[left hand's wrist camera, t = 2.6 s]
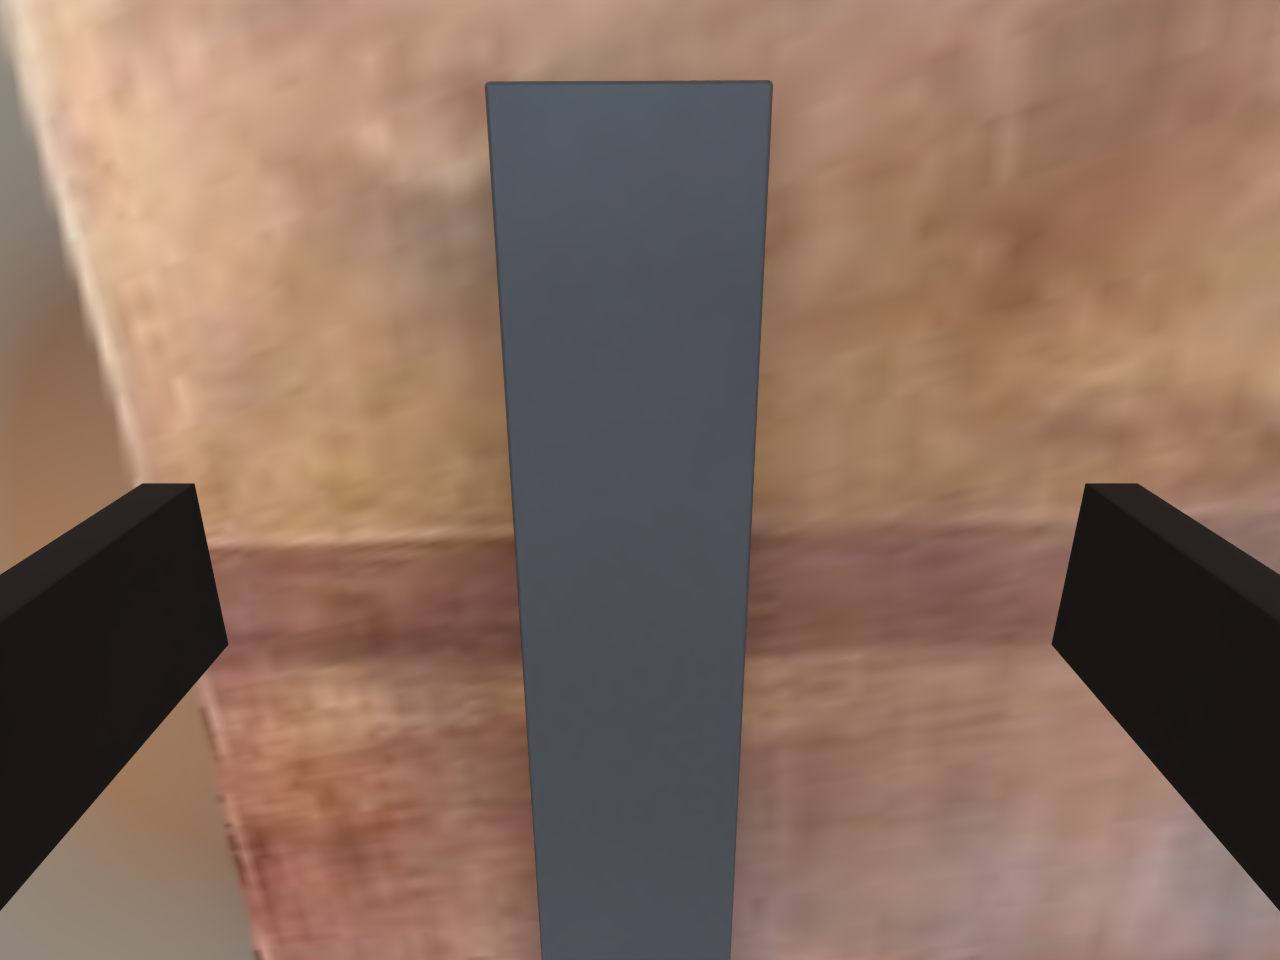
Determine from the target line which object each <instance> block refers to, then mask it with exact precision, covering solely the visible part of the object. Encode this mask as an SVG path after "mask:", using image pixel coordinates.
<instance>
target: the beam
mask: <svg viewBox="0 0 1280 960" xmlns="http://www.w3.org/2000/svg"><path fill="white" fill-rule="evenodd" d="M772 94H773V84H772V82H771V81H769V80H740V81H531V82H487V83H486V85H485V95H486V110H487V125H488V141H489V156H490V171H491V187H492V202H493V217H494V233H495V248H496V263H497V279H498V294H499V309H500V325H501V340H502V355H503V371H504V386H505V401H506V417H507V432H508V447H509V463H510V478H511V493H512V509H513V524H514V539H515V555H516V570H517V585H518V601H519V616H520V631H521V647H522V662H523V677H524V693H525V708H526V723H527V738H528V754H529V769H530V784H531V800H532V815H533V830H534V846H535V861H536V876H537V892H538V907H539V922H540V938H541V953H542V960H730V951H731V931H732V910H733V890H734V870H735V849H736V829H737V808H738V788H739V767H740V747H741V727H742V706H743V686H744V665H745V645H746V625H747V604H748V584H749V563H750V543H751V522H752V502H753V482H754V461H755V441H756V420H757V400H758V380H759V359H760V339H761V318H762V298H763V277H764V257H765V237H766V216H767V196H768V175H769V155H770V135H771V114H772Z"/></svg>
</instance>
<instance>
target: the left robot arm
mask: <svg viewBox="0 0 1280 960" xmlns="http://www.w3.org/2000/svg"><path fill="white" fill-rule="evenodd" d="M227 646H228V640H227V636H226V631H225V626H224V621H223V617H222V612H221V607H220V602H219V598H218V593H217V588H216V583H215V579H214V574H213V569H212V564H211V560H210V555H209V550H208V546H207V541H206V536H205V531H204V527H203V522H202V517H201V512H200V508H199V503H198V498H197V493H196V489H195V484H141V485H139V486H138V487H136V488H135V489H133V490H132V491H130V492H128V493H127V494H125V495H124V496H122V497H121V498H119V499H118V500H116V501H114V502H113V503H111V504H110V505H108V506H107V507H105V508H104V509H102V510H100V511H99V512H97V513H96V514H94V515H93V516H91V517H90V518H88V519H86V520H85V521H83V522H82V523H80V524H79V525H77V526H75V527H74V528H72V529H71V530H69V531H68V532H66V533H65V534H63V535H61V536H60V537H58V538H57V539H55V540H54V541H52V542H51V543H49V544H48V545H46V546H44V547H43V548H41V549H40V550H38V551H37V552H35V553H33V554H32V555H30V556H29V557H27V558H26V559H24V560H23V561H21V562H20V563H18V564H16V565H15V566H13V567H12V568H10V569H9V570H7V571H5V572H4V573H2V574H1V575H0V911H1V909H2V908H3V907H4V906H5V905H6V904H7V902H8V901H9V900H10V899H11V898H12V897H13V895H14V894H15V893H16V892H17V891H18V890H19V888H20V887H21V886H22V885H23V884H24V883H25V881H26V880H27V879H28V878H29V877H30V876H31V874H32V873H33V872H34V871H35V870H36V869H37V867H38V866H39V865H40V864H41V863H42V862H43V860H44V859H45V858H46V857H47V856H48V855H49V853H50V852H51V851H52V850H53V849H54V848H55V846H56V845H57V844H58V843H59V842H60V841H61V839H62V838H63V837H64V836H65V835H66V834H67V832H68V831H69V830H70V829H71V828H72V827H73V825H74V824H75V823H76V822H77V821H78V820H79V818H80V817H81V816H82V815H83V814H84V813H85V811H86V810H87V809H88V808H89V807H90V806H91V804H92V803H93V802H94V801H95V800H96V799H97V797H98V796H99V795H100V794H101V793H102V792H103V790H104V789H105V788H106V787H107V786H108V785H109V783H110V782H111V781H112V780H113V779H114V778H115V776H116V775H117V774H118V773H119V772H120V771H121V769H122V768H123V767H124V766H125V765H126V763H127V762H128V761H129V760H130V759H131V758H132V757H133V755H134V754H135V753H136V752H137V751H138V750H139V748H140V747H141V746H142V745H143V744H144V742H145V741H146V740H147V739H148V738H149V737H150V735H151V734H152V733H153V732H154V731H155V730H156V728H157V727H158V726H159V725H160V724H161V723H162V721H163V720H164V719H165V718H166V717H167V716H168V714H169V713H170V712H171V711H172V710H173V709H174V707H175V706H176V705H177V704H178V703H179V702H180V700H181V699H182V698H183V697H184V696H185V695H186V693H187V692H188V691H189V690H190V689H191V688H192V686H193V685H194V684H195V683H196V682H197V681H198V679H199V678H200V677H201V676H202V675H203V674H204V672H205V671H206V670H207V669H208V668H209V667H210V665H211V664H212V663H213V662H214V661H215V660H216V658H217V657H218V656H219V655H220V654H221V653H222V651H223V650H224V649H225V648H226V647H227ZM1052 646H1053V647H1054V648H1055V649H1056V650H1057V651H1058V653H1059V654H1060V655H1061V656H1062V657H1063V658H1064V660H1065V661H1066V662H1067V663H1068V664H1069V665H1070V667H1071V668H1072V669H1073V670H1074V671H1075V672H1076V674H1077V675H1078V676H1079V677H1080V678H1081V679H1082V681H1083V682H1084V683H1085V684H1086V685H1087V686H1088V688H1089V689H1090V690H1091V691H1092V692H1093V693H1094V695H1095V696H1096V697H1097V698H1098V699H1099V700H1100V702H1101V703H1102V704H1103V705H1104V706H1105V707H1106V709H1107V710H1108V711H1109V712H1110V713H1111V714H1112V716H1113V717H1114V718H1115V719H1116V720H1117V721H1118V723H1119V724H1120V725H1121V726H1122V727H1123V728H1124V730H1125V731H1126V732H1127V733H1128V734H1129V735H1130V737H1131V738H1132V739H1133V740H1134V741H1135V742H1136V744H1137V745H1138V746H1139V747H1140V748H1141V750H1142V751H1143V752H1144V753H1145V754H1146V755H1147V757H1148V758H1149V759H1150V760H1151V761H1152V762H1153V764H1154V765H1155V766H1156V767H1157V768H1158V769H1159V771H1160V772H1161V773H1162V774H1163V775H1164V776H1165V778H1166V779H1167V780H1168V781H1169V782H1170V783H1171V785H1172V786H1173V787H1174V788H1175V789H1176V790H1177V792H1178V793H1179V794H1180V795H1181V796H1182V797H1183V799H1184V800H1185V801H1186V802H1187V803H1188V804H1189V806H1190V807H1191V808H1192V809H1193V810H1194V811H1195V813H1196V814H1197V815H1198V816H1199V817H1200V818H1201V820H1202V821H1203V822H1204V823H1205V824H1206V825H1207V827H1208V828H1209V829H1210V830H1211V831H1212V832H1213V834H1214V835H1215V836H1216V837H1217V838H1218V839H1219V841H1220V842H1221V843H1222V844H1223V845H1224V846H1225V848H1226V849H1227V850H1228V851H1229V852H1230V853H1231V855H1232V856H1233V857H1234V858H1235V859H1236V860H1237V862H1238V863H1239V864H1240V865H1241V866H1242V867H1243V869H1244V870H1245V871H1246V872H1247V873H1248V874H1249V876H1250V877H1251V878H1252V879H1253V880H1254V881H1255V883H1256V884H1257V885H1258V886H1259V887H1260V888H1261V890H1262V891H1263V892H1264V893H1265V894H1266V895H1267V897H1268V898H1269V899H1270V900H1271V901H1272V902H1273V904H1274V905H1275V906H1276V907H1277V908H1278V909H1279V911H1280V575H1279V574H1278V573H1276V572H1275V571H1273V570H1271V569H1270V568H1268V567H1267V566H1265V565H1264V564H1262V563H1261V562H1259V561H1257V560H1256V559H1254V558H1253V557H1251V556H1250V555H1248V554H1247V553H1245V552H1243V551H1242V550H1240V549H1239V548H1237V547H1236V546H1234V545H1233V544H1231V543H1229V542H1228V541H1226V540H1225V539H1223V538H1222V537H1220V536H1219V535H1217V534H1215V533H1214V532H1212V531H1211V530H1209V529H1208V528H1206V527H1205V526H1203V525H1201V524H1200V523H1198V522H1197V521H1195V520H1194V519H1192V518H1190V517H1189V516H1187V515H1186V514H1184V513H1183V512H1181V511H1180V510H1178V509H1176V508H1175V507H1173V506H1172V505H1170V504H1169V503H1167V502H1166V501H1164V500H1162V499H1161V498H1159V497H1158V496H1156V495H1155V494H1153V493H1152V492H1150V491H1148V490H1147V489H1145V488H1144V487H1142V486H1141V485H1139V484H1085V489H1084V493H1083V498H1082V503H1081V508H1080V512H1079V517H1078V522H1077V527H1076V531H1075V536H1074V541H1073V546H1072V550H1071V555H1070V560H1069V564H1068V569H1067V574H1066V579H1065V583H1064V588H1063V593H1062V598H1061V602H1060V607H1059V612H1058V617H1057V621H1056V626H1055V631H1054V636H1053V640H1052Z"/></svg>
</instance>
